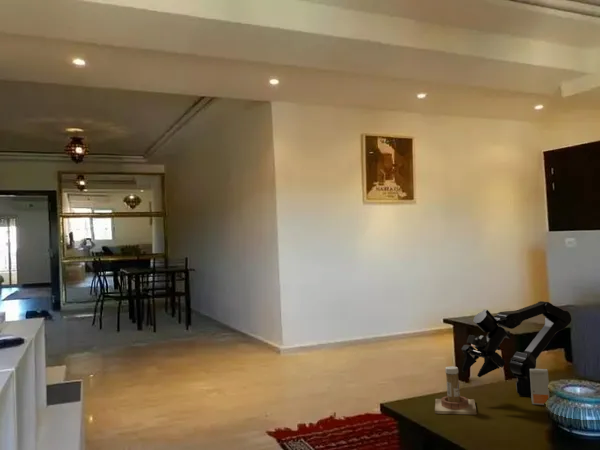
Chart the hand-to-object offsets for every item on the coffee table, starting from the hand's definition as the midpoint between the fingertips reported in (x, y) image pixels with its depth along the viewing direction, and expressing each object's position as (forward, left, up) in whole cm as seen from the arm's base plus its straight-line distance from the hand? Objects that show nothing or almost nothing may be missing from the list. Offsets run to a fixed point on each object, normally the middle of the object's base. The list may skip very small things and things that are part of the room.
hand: (470, 373), depth 193 cm
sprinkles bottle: (+7, +4, -10) cm, 13 cm away
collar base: (+6, +4, -11) cm, 13 cm away
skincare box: (-24, -3, -11) cm, 27 cm away
